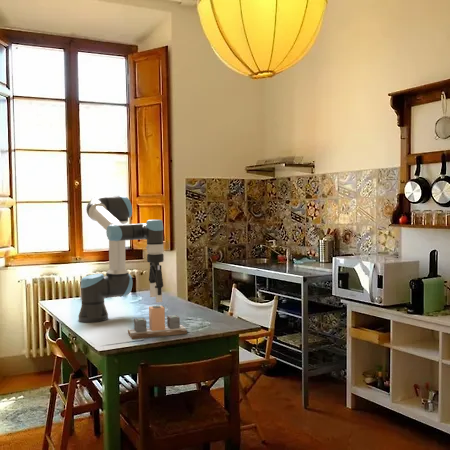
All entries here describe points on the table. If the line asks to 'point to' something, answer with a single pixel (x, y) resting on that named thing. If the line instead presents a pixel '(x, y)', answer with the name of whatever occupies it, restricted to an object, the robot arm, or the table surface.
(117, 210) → the robot arm
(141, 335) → the wooden fixture stand
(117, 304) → the table surface
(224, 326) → the table surface
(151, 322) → the block
